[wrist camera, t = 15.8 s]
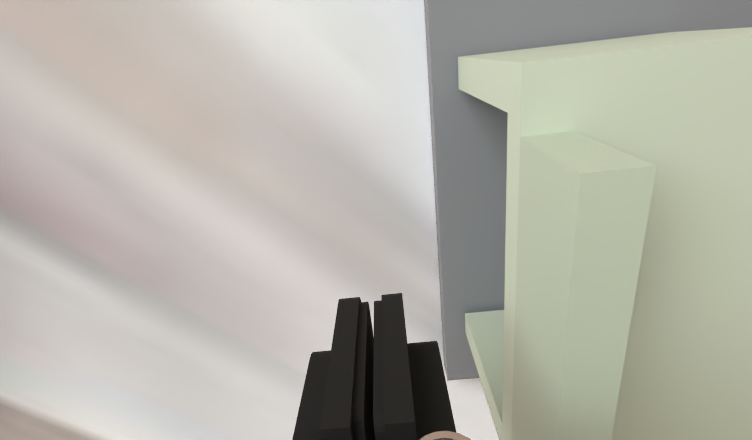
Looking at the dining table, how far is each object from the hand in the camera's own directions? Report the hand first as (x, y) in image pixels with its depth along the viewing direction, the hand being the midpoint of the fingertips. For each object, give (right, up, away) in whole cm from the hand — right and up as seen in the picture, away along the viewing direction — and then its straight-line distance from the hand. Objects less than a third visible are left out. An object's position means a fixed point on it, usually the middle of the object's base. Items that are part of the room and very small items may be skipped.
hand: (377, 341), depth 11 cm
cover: (+8, +4, +7) cm, 11 cm away
